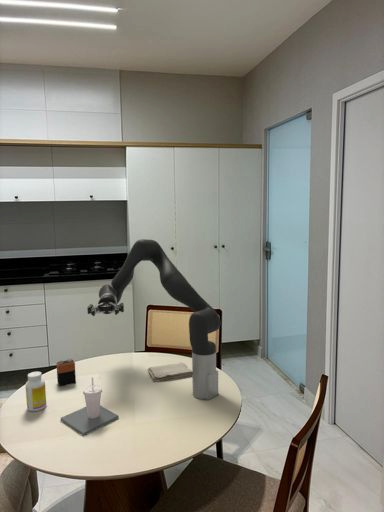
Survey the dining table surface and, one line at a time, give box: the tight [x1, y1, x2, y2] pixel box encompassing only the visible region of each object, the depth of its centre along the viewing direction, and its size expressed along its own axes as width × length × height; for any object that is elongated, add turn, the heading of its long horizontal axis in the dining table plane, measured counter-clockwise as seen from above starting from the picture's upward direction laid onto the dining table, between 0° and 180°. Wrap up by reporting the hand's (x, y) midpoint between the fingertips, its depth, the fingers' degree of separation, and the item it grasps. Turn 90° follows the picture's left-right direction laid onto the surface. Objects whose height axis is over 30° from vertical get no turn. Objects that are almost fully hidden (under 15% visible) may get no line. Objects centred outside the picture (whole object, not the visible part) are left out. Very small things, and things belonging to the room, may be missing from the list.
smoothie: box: [82, 376, 103, 419], centre depth 136 cm, size 6×6×14 cm
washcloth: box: [147, 362, 192, 383], centre depth 172 cm, size 12×18×3 cm, turn 111°
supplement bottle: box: [25, 371, 47, 412], centre depth 144 cm, size 7×7×13 cm
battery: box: [56, 358, 77, 387], centre depth 164 cm, size 4×7×10 cm, turn 118°
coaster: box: [60, 405, 119, 437], centre depth 136 cm, size 14×14×1 cm
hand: (104, 312), depth 153 cm, fingers open, 8 cm apart
